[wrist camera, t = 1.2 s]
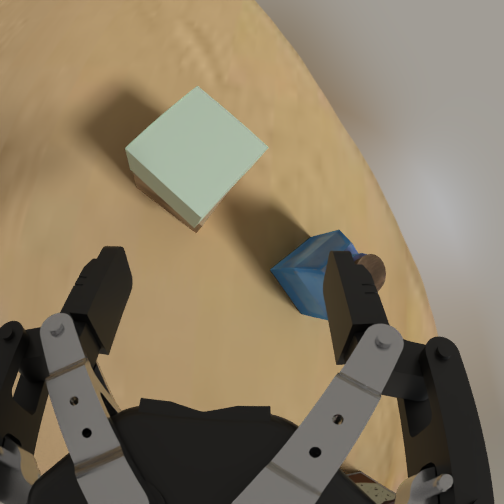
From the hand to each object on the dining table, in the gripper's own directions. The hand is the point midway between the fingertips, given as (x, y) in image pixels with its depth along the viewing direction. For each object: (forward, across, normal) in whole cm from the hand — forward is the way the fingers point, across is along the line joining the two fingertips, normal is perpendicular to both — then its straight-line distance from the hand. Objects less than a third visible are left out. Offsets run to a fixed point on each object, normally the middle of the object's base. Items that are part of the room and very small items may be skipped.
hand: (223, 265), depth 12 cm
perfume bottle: (+17, -7, +16) cm, 25 cm away
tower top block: (+18, +4, +3) cm, 18 cm away
